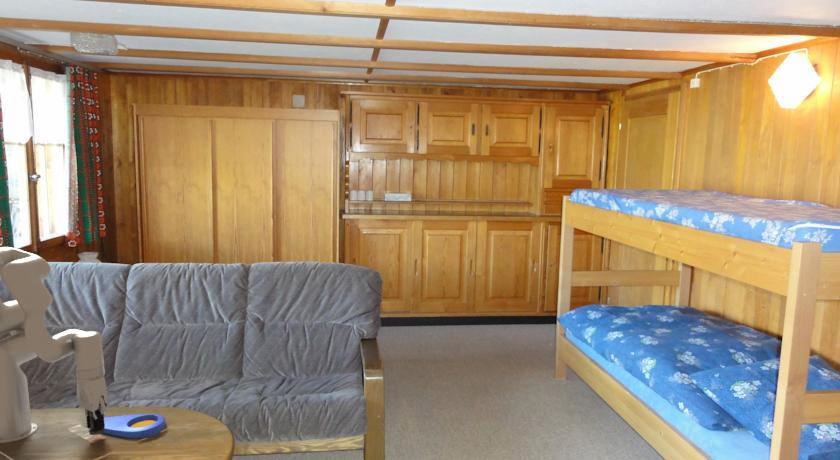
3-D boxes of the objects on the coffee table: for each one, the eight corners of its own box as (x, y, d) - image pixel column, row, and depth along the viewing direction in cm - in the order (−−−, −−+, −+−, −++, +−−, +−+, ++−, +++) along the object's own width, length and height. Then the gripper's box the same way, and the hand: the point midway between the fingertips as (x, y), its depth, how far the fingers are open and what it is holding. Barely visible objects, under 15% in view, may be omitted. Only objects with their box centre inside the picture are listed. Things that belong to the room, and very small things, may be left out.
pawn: (86, 432, 186) (84, 407, 185) (99, 427, 189) (97, 403, 188) (93, 436, 184) (91, 410, 182) (106, 431, 187) (104, 405, 186)
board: (64, 431, 193) (64, 429, 193) (80, 425, 197) (80, 423, 197) (91, 445, 184) (91, 443, 183) (107, 439, 188) (107, 437, 188)
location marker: (78, 438, 190) (151, 441, 186) (76, 428, 189) (150, 431, 186) (104, 420, 203) (173, 422, 199) (103, 410, 202) (172, 412, 199)
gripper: (64, 370, 185) (70, 426, 188) (92, 381, 176) (97, 439, 178) (89, 363, 191) (94, 417, 194) (117, 373, 182) (122, 429, 185)
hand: (96, 427), depth 186 cm, fingers closed on pawn, 3 cm apart
